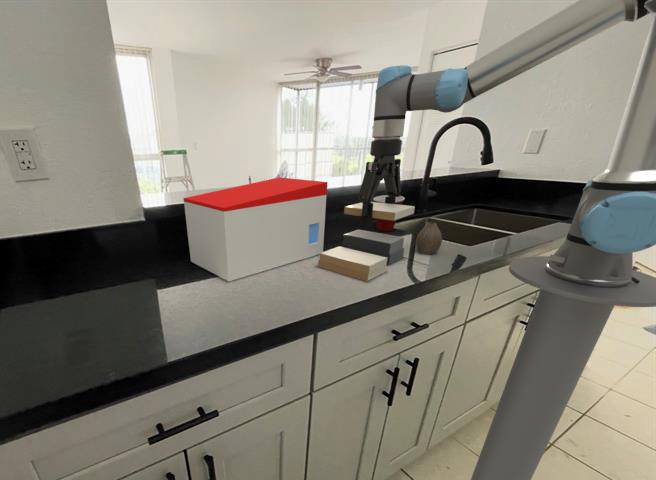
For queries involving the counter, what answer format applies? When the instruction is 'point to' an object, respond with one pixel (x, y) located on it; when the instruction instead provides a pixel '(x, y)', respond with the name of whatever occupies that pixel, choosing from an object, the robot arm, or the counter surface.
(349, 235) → the grey books
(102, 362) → the counter surface
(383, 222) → the plastic cup
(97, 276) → the counter surface
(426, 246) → the vase
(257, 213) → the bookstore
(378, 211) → the beige flat rectangular block
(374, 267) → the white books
